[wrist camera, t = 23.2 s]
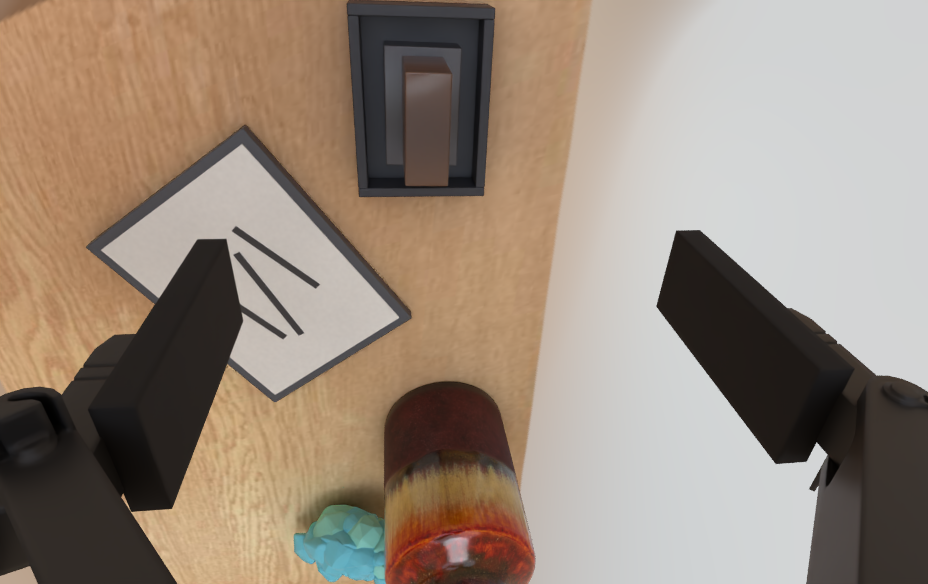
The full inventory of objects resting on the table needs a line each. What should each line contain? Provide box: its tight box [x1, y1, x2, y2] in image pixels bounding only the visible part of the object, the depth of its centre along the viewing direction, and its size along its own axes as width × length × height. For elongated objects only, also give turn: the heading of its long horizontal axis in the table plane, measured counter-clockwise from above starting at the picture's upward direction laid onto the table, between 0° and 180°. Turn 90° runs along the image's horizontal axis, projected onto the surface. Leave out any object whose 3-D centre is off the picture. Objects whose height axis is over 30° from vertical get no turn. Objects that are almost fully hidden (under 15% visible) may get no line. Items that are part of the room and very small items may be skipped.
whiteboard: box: [86, 125, 411, 402], centre depth 41 cm, size 18×14×1 cm
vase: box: [384, 382, 535, 584], centre depth 43 cm, size 11×11×20 cm
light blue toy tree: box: [294, 505, 386, 584], centre depth 55 cm, size 11×9×15 cm
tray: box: [347, 0, 495, 197], centre depth 35 cm, size 11×8×3 cm
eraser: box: [383, 41, 462, 186], centre depth 32 cm, size 7×4×7 cm, turn 177°
